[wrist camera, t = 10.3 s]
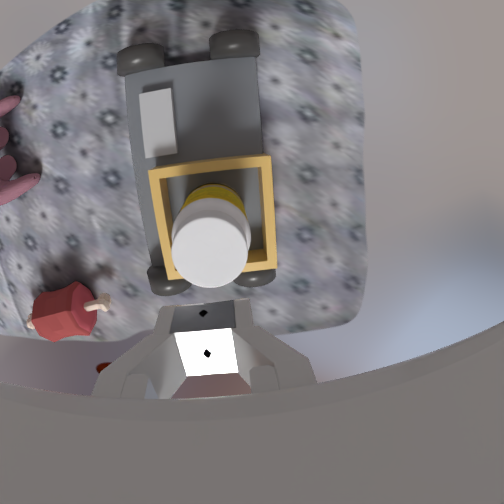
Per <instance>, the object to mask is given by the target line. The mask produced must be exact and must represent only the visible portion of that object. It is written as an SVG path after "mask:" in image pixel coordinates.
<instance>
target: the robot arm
mask: <svg viewBox="0 0 504 504" xmlns="http://www.w3.org/2000/svg"><path fill="white" fill-rule="evenodd" d="M229 372H238V373H239V375H240V376H241V377H242V378H243V379H244V380H245V381H246V382H247V383H248V384H249V385H250V386H251V392H252V394H243V395H233V396H221V397H207V398H188V399H170V398H171V397H172V396H173V394H174V393H175V392H176V391H177V389H178V388H179V387H180V386H181V384H182V383H183V382H184V380H185V379H186V378H187V376H189V375H202V374H213V373H229ZM0 504H504V321H503V322H501V323H499V324H497V325H495V326H493V327H491V328H489V329H487V330H484V331H482V332H480V333H478V334H476V335H473V336H471V337H469V338H466V339H464V340H461V341H459V342H456V343H454V344H451V345H449V346H447V347H444V348H441V349H438V350H436V351H433V352H430V353H427V354H425V355H421V356H419V357H416V358H413V359H410V360H407V361H403V362H400V363H397V364H393V365H390V366H387V367H383V368H380V369H376V370H373V371H369V372H365V373H361V374H357V375H353V376H349V377H345V378H340V379H336V380H331V381H327V382H322V383H317V381H316V378H315V375H314V373H313V370H312V367H311V364H310V362H309V359H308V358H307V357H306V356H304V355H302V354H301V353H299V352H298V351H296V350H295V349H293V348H292V347H290V346H289V345H287V344H286V343H284V342H282V341H281V340H279V339H278V338H276V337H275V336H273V335H272V334H270V333H269V332H267V331H266V330H264V329H263V328H261V327H260V326H254V323H253V317H252V311H251V305H250V299H249V298H244V299H237V300H230V301H223V302H215V303H207V304H205V303H202V304H189V305H177V306H176V305H173V306H163V307H161V309H160V312H159V315H158V318H157V322H156V325H155V328H154V332H153V335H148V336H147V337H145V338H144V339H143V340H141V341H140V342H139V343H138V344H136V345H135V346H134V347H132V348H131V349H130V350H128V351H127V352H126V353H125V354H123V355H122V356H121V357H119V358H118V359H117V360H115V361H114V362H113V363H111V364H110V365H109V366H108V367H106V368H105V369H104V370H102V371H101V372H100V374H99V377H98V379H97V382H96V384H95V387H94V390H93V392H92V395H91V396H85V395H76V394H68V393H60V392H53V391H47V390H40V389H35V388H29V387H24V386H19V385H14V384H10V383H5V382H1V381H0Z"/></svg>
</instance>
